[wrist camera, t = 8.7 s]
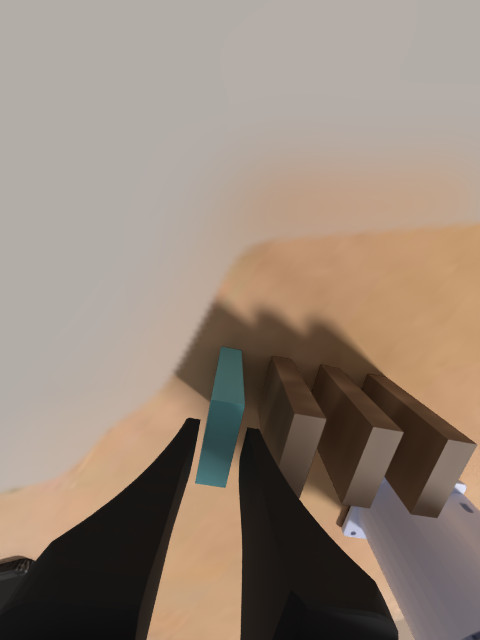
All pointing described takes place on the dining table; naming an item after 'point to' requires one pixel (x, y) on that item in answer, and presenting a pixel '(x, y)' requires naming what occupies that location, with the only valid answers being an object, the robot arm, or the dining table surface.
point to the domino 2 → (353, 437)
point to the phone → (12, 577)
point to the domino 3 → (420, 449)
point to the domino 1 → (290, 421)
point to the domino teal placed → (222, 420)
